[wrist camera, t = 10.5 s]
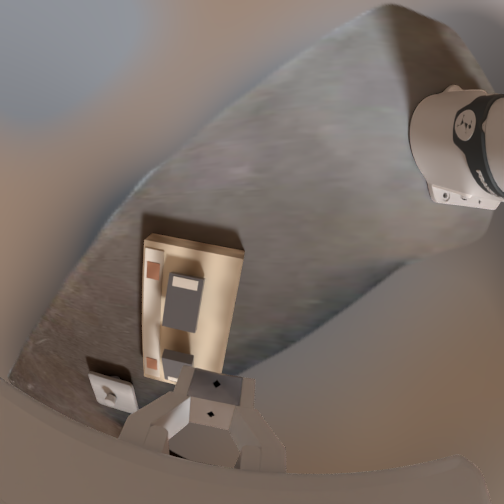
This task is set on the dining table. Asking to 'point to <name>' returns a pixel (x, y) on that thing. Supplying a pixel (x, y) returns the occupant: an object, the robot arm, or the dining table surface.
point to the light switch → (114, 392)
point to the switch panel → (212, 305)
